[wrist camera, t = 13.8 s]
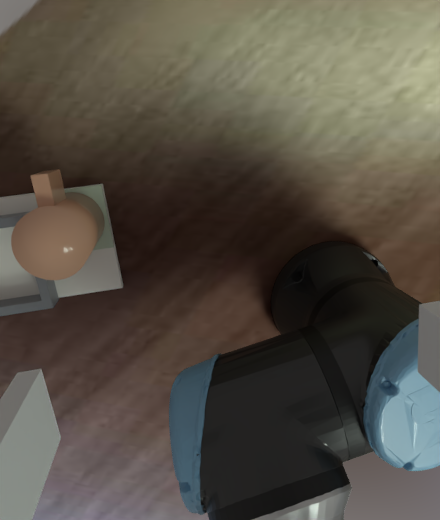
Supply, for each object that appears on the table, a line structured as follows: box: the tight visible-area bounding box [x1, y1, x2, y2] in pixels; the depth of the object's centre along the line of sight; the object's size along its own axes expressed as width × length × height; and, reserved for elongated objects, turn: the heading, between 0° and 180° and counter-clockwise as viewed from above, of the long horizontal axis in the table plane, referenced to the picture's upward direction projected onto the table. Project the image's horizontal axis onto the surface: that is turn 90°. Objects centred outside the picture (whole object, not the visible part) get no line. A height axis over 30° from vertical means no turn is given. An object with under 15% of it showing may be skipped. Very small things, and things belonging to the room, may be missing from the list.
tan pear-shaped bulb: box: [11, 169, 105, 280], centre depth 40 cm, size 9×6×10 cm
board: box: [0, 184, 123, 300], centre depth 46 cm, size 12×18×1 cm, turn 97°
